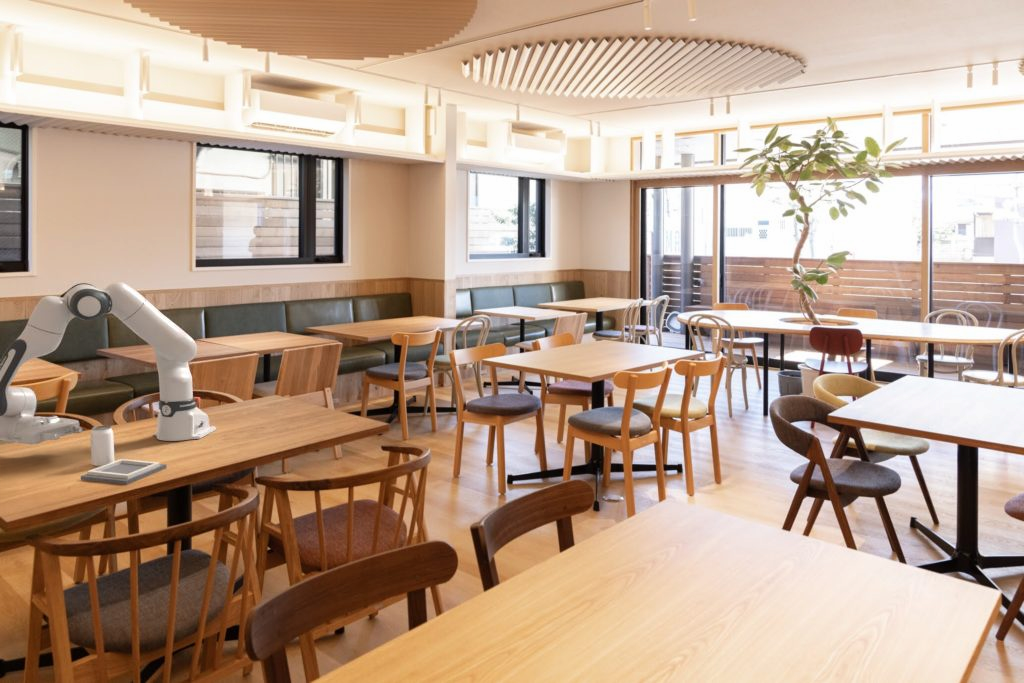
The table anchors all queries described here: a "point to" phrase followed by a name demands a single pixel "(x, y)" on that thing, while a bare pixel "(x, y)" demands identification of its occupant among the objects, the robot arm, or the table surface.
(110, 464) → the grey rimmed tray
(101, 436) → the can
